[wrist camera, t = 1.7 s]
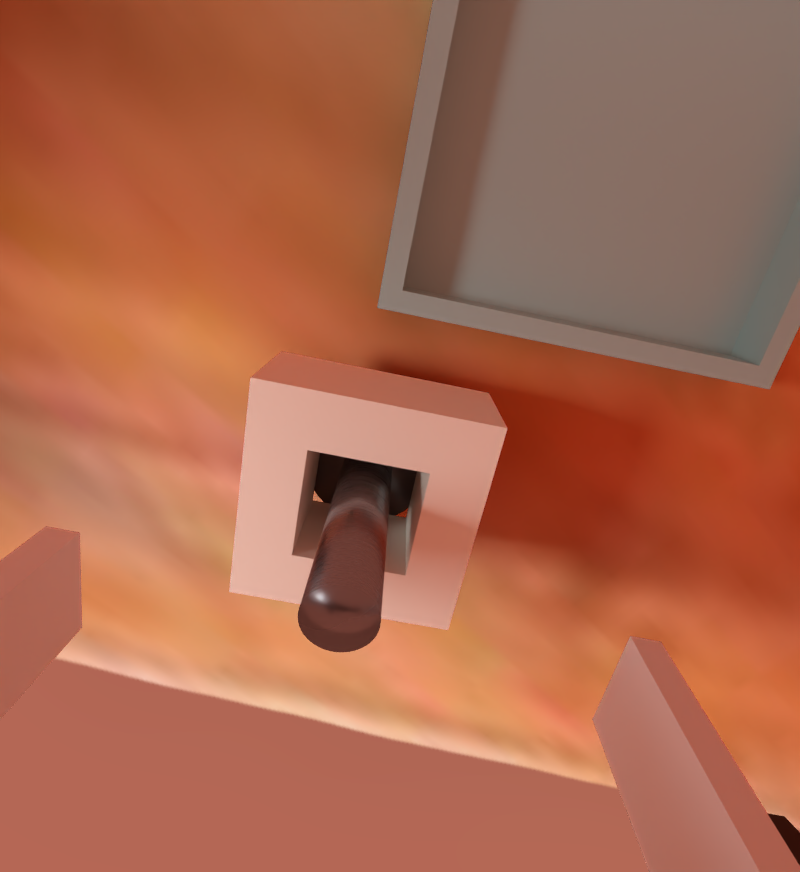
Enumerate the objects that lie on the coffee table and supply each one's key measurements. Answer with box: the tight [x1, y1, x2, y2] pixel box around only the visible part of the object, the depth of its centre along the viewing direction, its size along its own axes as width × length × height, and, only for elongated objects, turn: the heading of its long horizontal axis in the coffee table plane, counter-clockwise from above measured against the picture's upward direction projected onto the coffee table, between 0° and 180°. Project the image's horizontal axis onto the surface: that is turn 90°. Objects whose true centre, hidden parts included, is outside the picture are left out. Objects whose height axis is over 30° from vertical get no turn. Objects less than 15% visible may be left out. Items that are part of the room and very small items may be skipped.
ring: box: [229, 351, 508, 630], centre depth 19 cm, size 8×8×4 cm
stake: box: [298, 453, 417, 652], centre depth 18 cm, size 5×5×12 cm
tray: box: [377, 0, 800, 389], centre depth 18 cm, size 16×16×2 cm
